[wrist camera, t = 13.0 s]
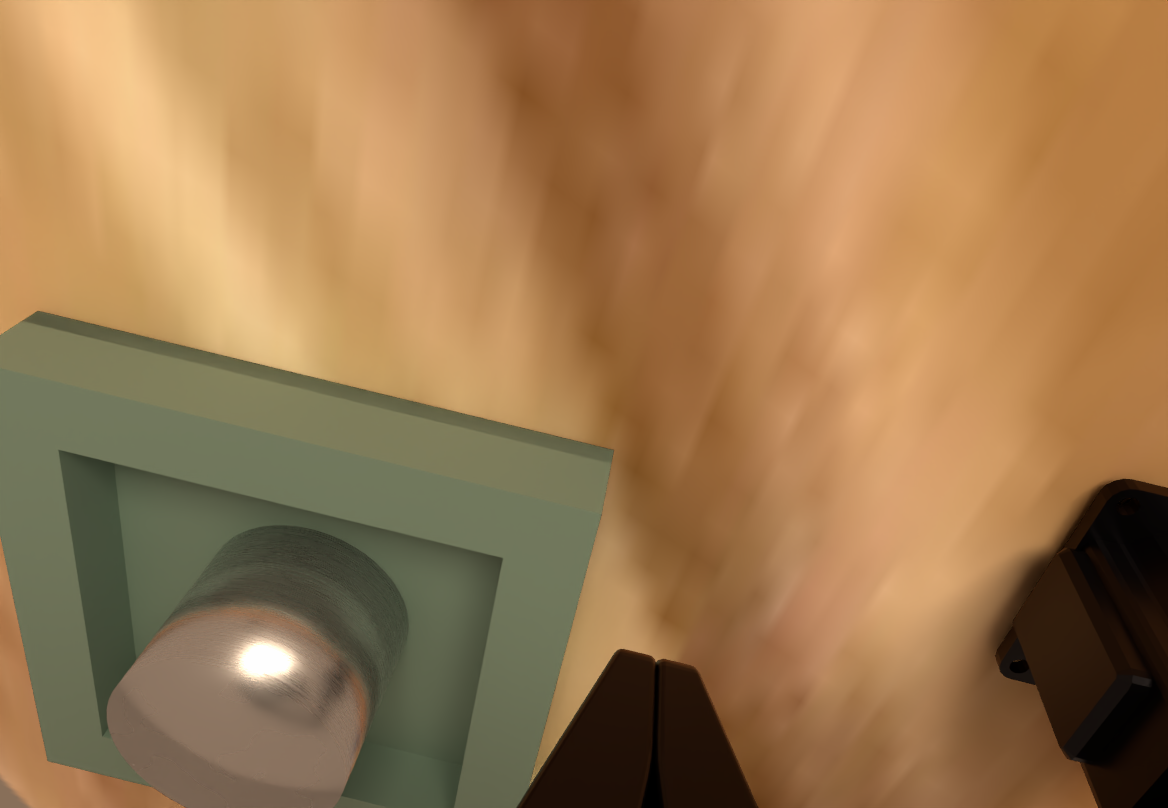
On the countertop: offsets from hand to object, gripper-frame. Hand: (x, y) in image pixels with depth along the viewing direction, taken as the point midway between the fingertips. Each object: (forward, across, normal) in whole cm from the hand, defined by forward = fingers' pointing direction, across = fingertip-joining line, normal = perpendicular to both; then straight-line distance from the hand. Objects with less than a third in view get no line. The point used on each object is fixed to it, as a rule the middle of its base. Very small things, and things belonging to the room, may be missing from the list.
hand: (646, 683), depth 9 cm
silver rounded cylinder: (+11, +8, +13) cm, 19 cm away
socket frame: (+12, +8, +13) cm, 19 cm away
